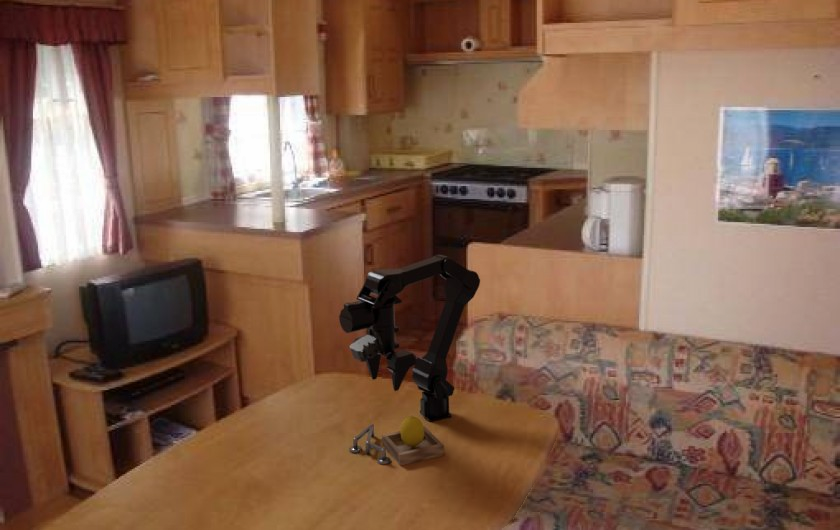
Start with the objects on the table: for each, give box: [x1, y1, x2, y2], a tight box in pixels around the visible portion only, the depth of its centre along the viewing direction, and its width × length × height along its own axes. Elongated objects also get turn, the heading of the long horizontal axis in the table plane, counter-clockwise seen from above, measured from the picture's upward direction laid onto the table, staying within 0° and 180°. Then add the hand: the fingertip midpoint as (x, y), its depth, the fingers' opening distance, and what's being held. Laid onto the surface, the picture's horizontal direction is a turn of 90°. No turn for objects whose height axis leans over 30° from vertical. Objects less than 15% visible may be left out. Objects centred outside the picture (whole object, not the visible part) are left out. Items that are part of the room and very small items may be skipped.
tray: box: [381, 425, 445, 466], centre depth 183 cm, size 11×11×3 cm
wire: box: [348, 423, 392, 465], centre depth 183 cm, size 8×15×3 cm, turn 24°
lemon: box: [400, 415, 424, 448], centre depth 183 cm, size 6×6×8 cm
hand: (385, 384), depth 190 cm, fingers open, 9 cm apart
